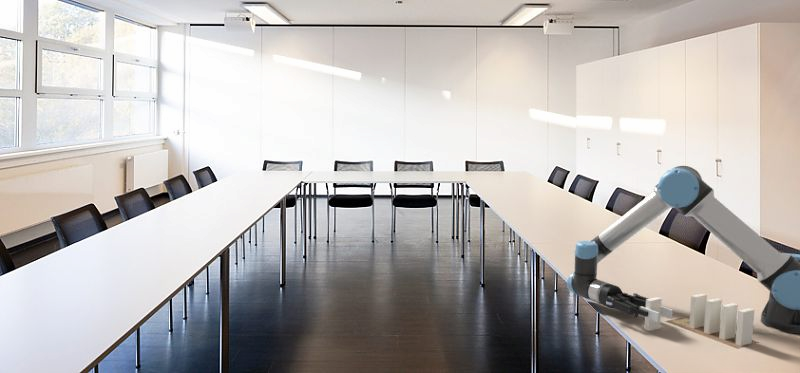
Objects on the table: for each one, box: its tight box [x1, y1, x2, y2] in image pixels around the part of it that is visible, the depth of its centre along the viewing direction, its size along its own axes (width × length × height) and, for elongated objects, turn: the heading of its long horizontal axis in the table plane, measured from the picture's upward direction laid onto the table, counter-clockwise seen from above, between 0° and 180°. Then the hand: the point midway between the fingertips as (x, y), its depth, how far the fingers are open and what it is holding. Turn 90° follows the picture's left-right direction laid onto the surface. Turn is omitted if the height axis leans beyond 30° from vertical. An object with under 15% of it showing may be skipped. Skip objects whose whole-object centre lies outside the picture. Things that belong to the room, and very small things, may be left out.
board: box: [665, 316, 760, 350], centre depth 178 cm, size 10×24×1 cm, turn 27°
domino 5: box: [735, 307, 755, 346], centre depth 168 cm, size 2×5×10 cm, turn 117°
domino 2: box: [689, 293, 708, 328], centre depth 181 cm, size 2×5×10 cm, turn 117°
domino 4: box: [719, 302, 739, 340], centre depth 173 cm, size 2×5×10 cm, turn 117°
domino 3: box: [704, 297, 723, 334], centre depth 177 cm, size 2×5×10 cm, turn 117°
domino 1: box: [643, 296, 663, 332], centre depth 180 cm, size 2×5×10 cm, turn 117°
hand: (664, 315), depth 176 cm, fingers closed on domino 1, 5 cm apart
